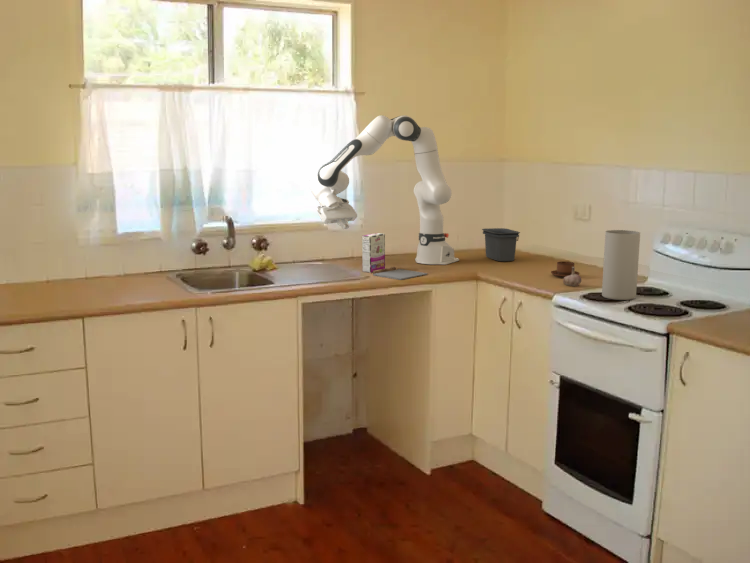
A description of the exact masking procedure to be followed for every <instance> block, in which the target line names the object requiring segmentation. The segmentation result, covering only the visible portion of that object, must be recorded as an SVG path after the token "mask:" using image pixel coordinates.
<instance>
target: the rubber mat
mask: <svg viewBox="0 0 750 563" xmlns="http://www.w3.org/2000/svg"><path fill="white" fill-rule="evenodd" d="M427 274H428V275H429V273H428V272H423V271H421V272H420V271H415V270H408V269H402V268H396V270H392V271H386V272H381V273H375V274H373V273H372V276H375V277H380V278H388V279H393V280H398V281H402V280H407V279H413V278H416V277H417V276H419V277H423V276H422V275H424V276H428V275H427ZM417 278H418V277H417Z"/></svg>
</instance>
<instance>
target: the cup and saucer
mask: <svg viewBox="0 0 750 563" xmlns="http://www.w3.org/2000/svg"><path fill="white" fill-rule="evenodd" d="M556 262H557V263H556V269H555V270H551V272H550V273H551V275H552V276H554V277H557V278H562V279H564V277H566V276H569V275H571V274H572V267H575V262H572V261H562V260H561V261H556ZM575 274H577V275H579V276H580V272H579V271H576V270H575Z"/></svg>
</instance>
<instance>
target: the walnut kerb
mask: <svg viewBox="0 0 750 563" xmlns="http://www.w3.org/2000/svg"><path fill="white" fill-rule="evenodd" d="M392 270H397V267H395V266H391V267H385V269H380V270H375V271H373V272H372V275H373V274H375V273H381V272H386V271H392Z"/></svg>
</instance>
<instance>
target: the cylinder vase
mask: <svg viewBox="0 0 750 563" xmlns="http://www.w3.org/2000/svg"><path fill="white" fill-rule="evenodd" d="M604 233H605V234H604V236H605V237H604V253H603V269H602V282H601V283H602V286H601V289H602V290H601V296H602V297H603V298H604V299H609V300H614V301H631V300H634V299H636V297H637V287H638V270H639V258H640V257H639V256H640V245H641V244H640V241H641V232H640V231H636V230H628V229H627V230H626V229H625V230H623V229H611V230H608V229H607V230H606V231H605V232H604Z"/></svg>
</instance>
